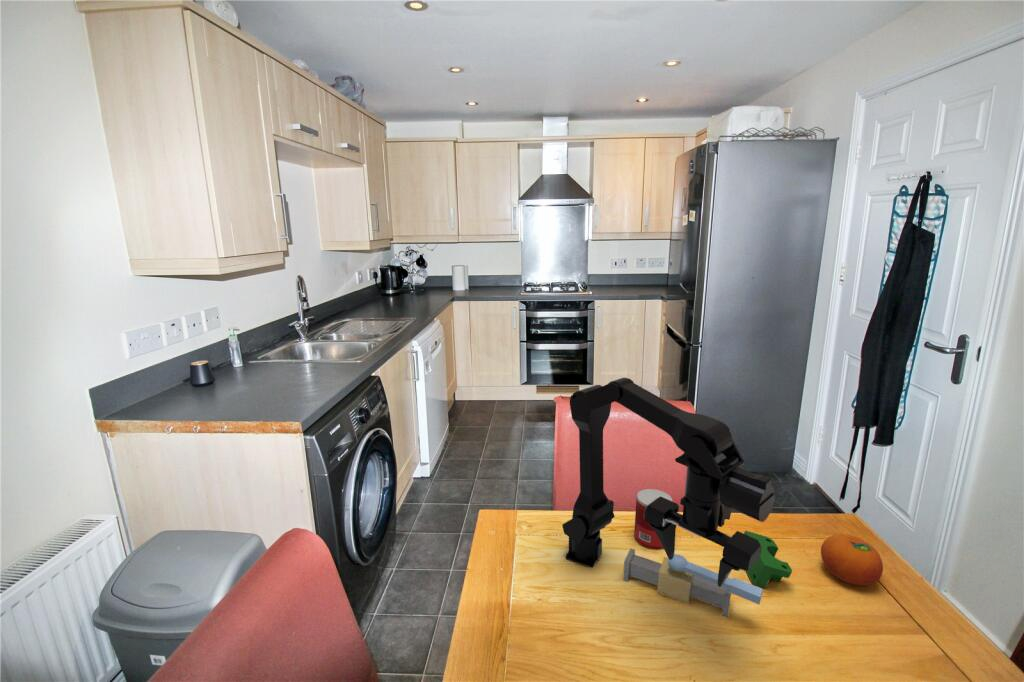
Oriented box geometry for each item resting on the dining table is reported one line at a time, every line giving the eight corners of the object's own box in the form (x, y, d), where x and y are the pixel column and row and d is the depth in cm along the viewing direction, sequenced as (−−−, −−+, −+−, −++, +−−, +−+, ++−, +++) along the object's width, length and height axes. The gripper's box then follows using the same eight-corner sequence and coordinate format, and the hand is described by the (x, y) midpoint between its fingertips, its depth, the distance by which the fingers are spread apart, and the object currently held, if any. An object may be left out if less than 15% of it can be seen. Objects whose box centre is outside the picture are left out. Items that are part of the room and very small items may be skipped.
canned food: (673, 550, 107) (677, 507, 104) (638, 549, 107) (641, 507, 104) (663, 529, 114) (666, 488, 112) (630, 528, 114) (633, 488, 112)
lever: (758, 608, 84) (759, 599, 83) (665, 569, 93) (665, 560, 93) (762, 596, 86) (763, 587, 86) (671, 559, 96) (671, 551, 96)
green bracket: (773, 602, 97) (796, 582, 92) (744, 593, 98) (766, 573, 92) (761, 548, 107) (782, 528, 101) (735, 540, 107) (754, 519, 102)
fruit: (806, 564, 102) (811, 532, 100) (841, 554, 105) (847, 522, 103) (854, 600, 92) (861, 565, 90) (891, 587, 95) (899, 553, 93)
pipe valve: (622, 580, 98) (624, 560, 96) (629, 566, 102) (630, 546, 101) (727, 618, 88) (730, 596, 87) (730, 600, 92) (732, 579, 91)
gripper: (779, 497, 78) (767, 576, 82) (675, 458, 92) (669, 528, 95) (752, 525, 71) (741, 611, 75) (644, 478, 84) (639, 553, 88)
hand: (694, 571), depth 83 cm, fingers open, 9 cm apart
